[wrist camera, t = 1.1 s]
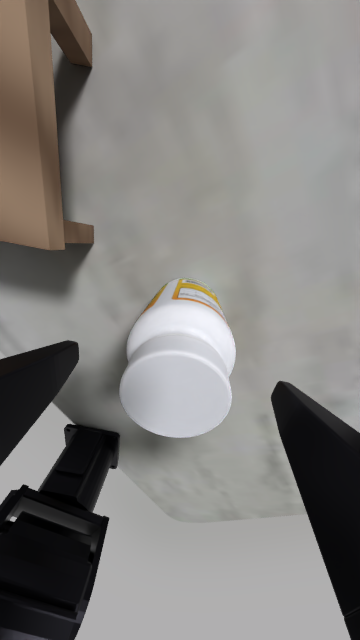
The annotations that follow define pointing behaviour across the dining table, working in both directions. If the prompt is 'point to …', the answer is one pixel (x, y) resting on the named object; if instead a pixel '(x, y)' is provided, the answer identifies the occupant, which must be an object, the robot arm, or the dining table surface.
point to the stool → (35, 120)
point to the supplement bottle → (179, 362)
